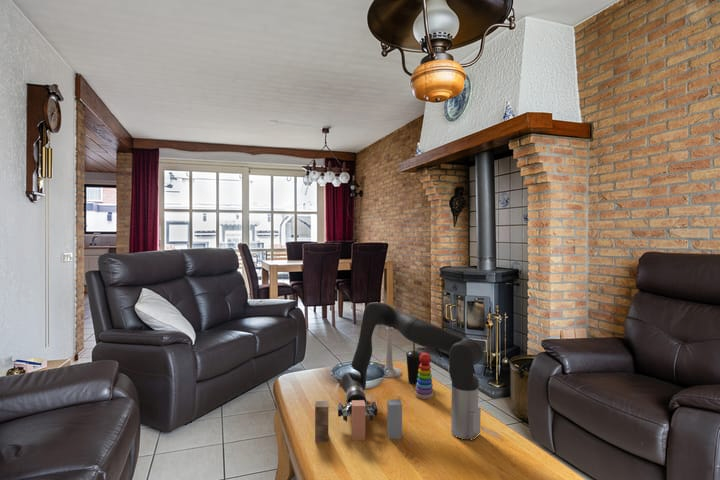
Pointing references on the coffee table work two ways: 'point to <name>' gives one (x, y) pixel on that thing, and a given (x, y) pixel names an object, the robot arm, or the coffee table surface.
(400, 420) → the pillar slate
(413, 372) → the drinking cup
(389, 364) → the candlestick
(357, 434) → the pillar terracotta
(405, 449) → the coffee table surface
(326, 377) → the coffee table surface
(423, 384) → the stacking toy
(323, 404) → the pillar walnut
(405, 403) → the coffee table surface
